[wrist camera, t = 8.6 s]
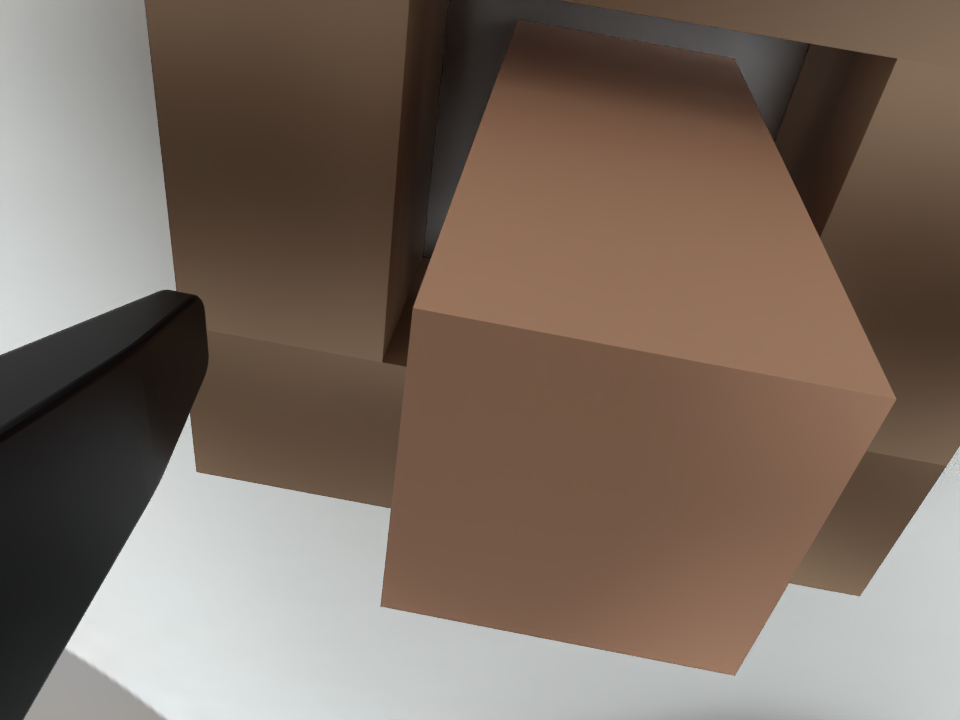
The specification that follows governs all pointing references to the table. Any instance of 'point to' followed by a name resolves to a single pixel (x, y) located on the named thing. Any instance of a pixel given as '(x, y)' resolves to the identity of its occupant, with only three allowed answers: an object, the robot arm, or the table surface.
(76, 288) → the table surface
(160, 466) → the robot arm
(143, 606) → the table surface
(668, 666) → the table surface
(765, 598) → the peg
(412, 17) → the socket block
